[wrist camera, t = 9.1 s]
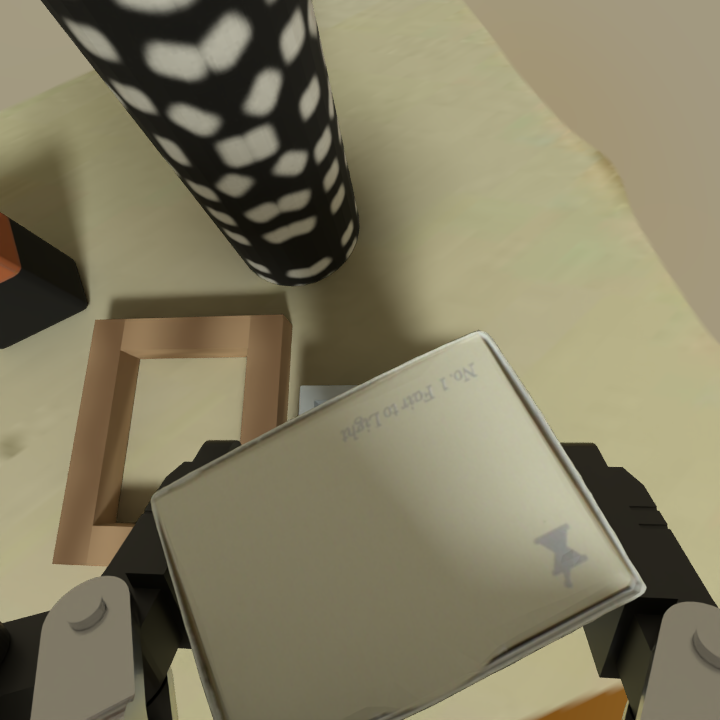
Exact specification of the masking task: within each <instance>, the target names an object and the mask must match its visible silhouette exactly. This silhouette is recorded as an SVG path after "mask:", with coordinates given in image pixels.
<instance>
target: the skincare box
mask: <svg viewBox="0 0 720 720" xmlns="http://www.w3.org/2000/svg"><path fill="white" fill-rule="evenodd" d="M151 507H152V512H153V515H154V519H155V523H156V527H157V530H158V533H159V537H160V540H161V543H162V547H163V550H164V554H165V558H166V561H167V565H168V569H169V573H170V576H171V579H172V582H173V586H174V589H175V593H176V597H177V600H178V604H179V607H180V610H181V614H182V618H183V622H184V625H185V629H186V631H187V634H188V637H189V641H190V644H191V648H192V652H193V655H194V659H195V662H196V666H197V669H198V673H199V676H200V679H201V683H202V686H203V689H204V692H205V695H206V698H207V701H208V704H209V707H210V710H211V714H212V717H213V720H403V719H405V718H408V717H410V716H412V715H414V714H416V713H418V712H420V711H422V710H425V709H427V708H429V707H431V706H433V705H435V704H437V703H439V702H441V701H443V700H445V699H446V698H448V697H450V696H452V695H454V694H456V693H458V692H460V691H461V690H463V689H465V688H467V687H469V686H471V685H473V684H475V683H476V682H478V681H480V680H482V679H484V678H486V677H488V676H490V675H492V674H494V673H496V672H498V671H500V670H502V669H504V668H506V667H508V666H510V665H512V664H513V663H515V662H517V661H519V660H521V659H522V658H524V657H526V656H528V655H530V654H532V653H534V652H535V651H537V650H539V649H541V648H543V647H545V646H547V645H548V644H550V643H552V642H554V641H556V640H558V639H560V638H562V637H564V636H566V635H568V634H570V633H572V632H574V631H575V630H577V629H579V628H580V627H582V626H584V625H586V624H589V623H591V622H593V621H595V620H596V619H598V618H599V617H601V616H603V615H604V614H606V613H608V612H610V611H612V610H614V609H616V608H618V607H620V606H622V605H624V604H626V603H628V602H630V601H632V600H635V599H636V598H638V597H639V596H641V595H642V594H644V592H645V590H646V588H647V587H646V585H645V584H644V582H643V580H642V578H641V577H640V575H639V573H638V572H637V570H636V569H635V567H634V566H633V564H632V563H631V561H630V560H629V558H628V556H627V554H626V552H625V551H624V549H623V547H622V545H621V543H620V541H619V539H618V537H617V536H616V534H615V532H614V531H613V529H612V528H611V526H610V525H609V523H608V522H607V520H606V518H605V516H604V514H603V513H602V511H601V510H600V508H599V507H598V505H597V503H596V501H595V500H594V498H593V496H592V494H591V492H590V491H589V490H588V488H587V487H586V485H585V483H584V481H583V479H582V477H581V475H580V474H579V472H578V471H577V470H576V468H575V466H574V465H573V463H572V461H571V460H570V458H569V457H568V455H567V454H566V452H565V451H564V449H563V447H562V446H561V444H560V442H559V441H558V439H557V437H556V436H555V434H554V432H553V431H552V429H551V428H550V426H549V424H548V423H547V421H546V419H545V417H544V415H543V414H542V412H541V411H540V409H539V408H538V407H537V405H536V403H535V402H534V400H533V399H532V397H531V395H530V394H529V392H528V391H527V389H526V388H525V386H524V385H523V383H522V382H521V380H520V379H519V377H518V376H517V374H516V373H515V371H514V370H513V369H512V367H511V366H510V364H509V363H508V361H507V360H506V358H505V357H504V355H503V354H502V352H501V350H500V349H499V347H498V346H497V344H496V343H495V341H494V340H493V338H492V337H491V336H490V335H489V334H488V333H486V332H483V331H480V330H478V331H475V332H472V333H470V334H467V335H465V336H463V337H460V338H458V339H456V340H453V341H451V342H449V343H446V344H444V345H442V346H440V347H438V348H436V349H434V350H432V351H429V352H427V353H425V354H422V355H420V356H417V357H415V358H413V359H411V360H409V361H407V362H405V363H403V364H401V365H399V366H397V367H395V368H393V369H391V370H389V371H386V372H384V373H382V374H380V375H378V376H376V377H374V378H372V379H370V380H368V381H366V382H364V383H362V384H360V385H358V386H356V387H354V388H352V389H350V390H348V391H346V392H344V393H342V394H340V395H338V396H336V397H334V398H332V399H330V400H328V401H326V402H324V403H322V404H320V405H318V406H317V407H315V408H313V409H311V410H309V411H307V412H305V413H303V414H301V415H299V416H297V417H295V418H293V419H291V420H289V421H287V422H285V423H283V424H281V425H279V426H277V427H276V428H274V429H272V430H270V431H268V432H266V433H264V434H262V435H261V436H259V437H257V438H255V439H253V440H251V441H249V442H247V443H245V444H243V445H241V446H239V447H237V448H235V449H234V450H232V451H230V452H228V453H226V454H225V455H223V456H221V457H219V458H217V459H215V460H213V461H211V462H209V463H208V464H206V465H204V466H202V467H200V468H198V469H196V470H194V471H192V472H190V473H188V474H187V475H185V476H183V477H182V478H180V479H178V480H176V481H174V482H173V483H171V484H170V485H167V486H165V487H163V488H162V489H160V490H158V491H157V492H156V493H154V494H153V496H152V497H151Z"/></svg>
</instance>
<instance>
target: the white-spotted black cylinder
mask: <svg viewBox="0 0 720 720" xmlns="http://www.w3.org/2000/svg"><path fill="white" fill-rule="evenodd" d="M41 1H42V2H43V4H44V5H45V6H46V7H47V9H48V10H49V11H50V13H51V14H52V15H53V16H54V18H55V19H56V20H57V22H58V23H59V24H60V25H61V27H62V28H63V29H64V30H65V32H66V33H67V34H68V36H69V37H70V38H71V40H72V41H73V42H74V43H75V45H76V46H77V47H78V49H79V50H80V51H81V52H82V54H83V55H84V56H85V57H86V59H87V60H88V61H89V63H90V64H91V65H92V66H93V68H94V69H95V70H96V72H97V73H98V74H99V75H100V77H101V78H102V79H103V81H104V82H105V83H106V84H107V86H108V87H109V88H110V90H111V91H112V92H113V93H114V95H115V96H116V97H117V99H118V100H119V101H120V102H121V104H122V105H123V106H124V108H125V109H126V110H127V111H128V113H129V114H130V115H131V116H132V118H133V119H134V120H135V122H136V123H137V124H138V125H139V127H140V128H141V129H142V131H143V132H144V133H145V134H146V136H147V137H148V138H149V140H150V141H151V142H152V143H153V145H154V146H155V147H156V149H157V150H158V151H159V152H160V154H161V155H162V156H163V158H164V159H165V160H166V161H167V163H168V164H169V165H170V166H171V168H172V169H173V170H174V172H175V173H176V174H177V175H178V177H179V178H180V179H181V181H182V182H183V183H184V184H185V186H186V187H187V188H188V190H189V191H190V192H191V193H192V195H193V196H194V197H195V199H196V200H197V201H198V202H199V204H200V205H201V206H202V208H203V209H204V210H205V211H206V213H207V214H208V215H209V216H210V218H211V219H212V220H213V222H214V223H215V224H216V225H217V227H218V228H219V229H220V231H221V232H222V233H223V234H224V236H225V237H226V238H227V240H228V241H229V242H230V243H231V245H232V246H233V247H234V249H235V250H236V251H237V252H238V254H239V255H240V256H241V258H242V259H243V260H244V261H245V263H246V264H247V265H248V267H249V268H250V269H251V270H252V271H253V272H254V273H256V274H257V275H258V276H259V277H261V278H263V279H265V280H267V281H268V282H272V283H275V284H278V285H285V286H300V285H306V284H310V283H314V282H317V281H319V280H321V279H323V278H325V277H327V276H329V275H330V274H332V273H333V272H334V271H336V270H337V269H338V268H339V267H340V266H341V265H342V264H343V263H344V262H345V261H346V260H347V259H348V257H349V256H350V254H351V252H352V251H353V249H354V246H355V244H356V242H357V239H358V233H359V215H358V211H357V206H356V202H355V197H354V192H353V188H352V183H351V179H350V174H349V169H348V165H347V160H346V156H345V151H344V146H343V142H342V137H341V133H340V128H339V123H338V119H337V114H336V110H335V105H334V100H333V96H332V91H331V87H330V82H329V77H328V73H327V68H326V64H325V59H324V54H323V50H322V45H321V41H320V36H319V31H318V27H317V22H316V18H315V13H314V8H313V4H312V0H41Z"/></svg>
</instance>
